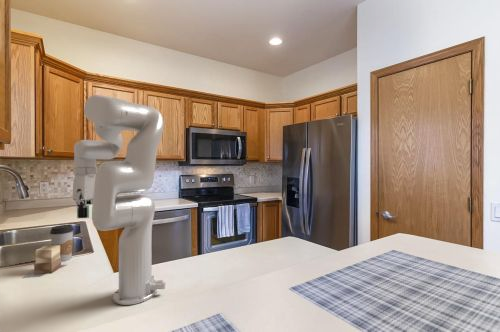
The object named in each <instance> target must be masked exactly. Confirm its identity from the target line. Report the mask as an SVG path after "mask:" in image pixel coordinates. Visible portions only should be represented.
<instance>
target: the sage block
mask: <svg viewBox="0 0 500 332" xmlns="http://www.w3.org/2000/svg"><path fill="white" fill-rule="evenodd" d="M92 206H93V204H86V208H87V217H86V218H85V219H89V218H92ZM76 219H79V218H78V208H77V207H76Z"/></svg>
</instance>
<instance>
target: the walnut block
mask: <svg viewBox="0 0 500 332" xmlns="http://www.w3.org/2000/svg"><path fill="white" fill-rule="evenodd" d="M33 265H34V266H33V268H34V269H33V271H34V274H45V275H47V274H53V273H55V272H56V271H58V270H60V269H61V265H62V262H61V257H60V258H59V259H57V260H55V261H54V262H52V263H37V264H36V262H35V263H34V264H33Z"/></svg>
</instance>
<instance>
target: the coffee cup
mask: <svg viewBox="0 0 500 332" xmlns="http://www.w3.org/2000/svg"><path fill="white" fill-rule="evenodd" d="M49 234H50V241H51V246H52V245H60V257H61V263H62V262H67V261H70V260H72V257H73V243H74V241H73V237H74V227H73V225H72V224H60V225H56V226H52V227H51V230H50V233H49Z"/></svg>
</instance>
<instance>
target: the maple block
mask: <svg viewBox="0 0 500 332" xmlns="http://www.w3.org/2000/svg"><path fill="white" fill-rule="evenodd" d="M59 258H60V245H52V244H51V245H43V246H42V247H40V248H37V249H35V263H36V264H37V263H52V262H54V261H55V260H57V259H59Z"/></svg>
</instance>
